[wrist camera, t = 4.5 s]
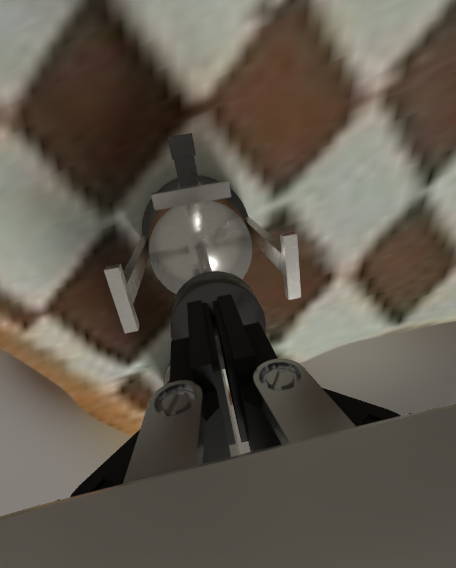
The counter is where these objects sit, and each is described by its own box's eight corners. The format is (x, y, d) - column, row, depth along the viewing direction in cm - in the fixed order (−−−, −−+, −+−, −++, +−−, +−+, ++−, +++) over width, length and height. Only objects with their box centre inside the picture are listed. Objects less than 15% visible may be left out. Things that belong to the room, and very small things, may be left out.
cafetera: (236, 137, 26) (289, 113, 13) (253, 269, 30) (303, 343, 18) (122, 155, 25) (63, 149, 13) (157, 287, 30) (139, 378, 17)
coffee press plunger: (243, 190, 21) (305, 218, 10) (256, 286, 23) (314, 383, 13) (137, 208, 20) (92, 258, 10) (163, 304, 23) (148, 421, 13)
